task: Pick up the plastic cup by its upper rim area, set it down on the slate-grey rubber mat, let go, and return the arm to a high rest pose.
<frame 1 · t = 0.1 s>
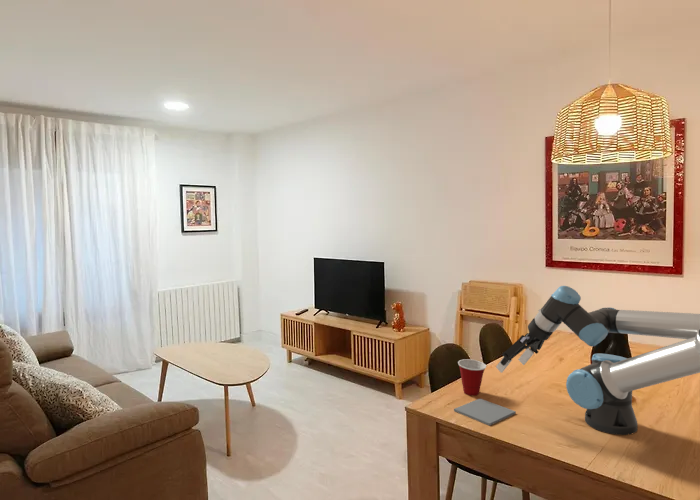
hand: (510, 365, 166), 15 cm above the table, tool tilted 35°, fingers open, 13 cm apart
plastic cup: (471, 393, 181), on the table
rest mat: (484, 412, 164), on the table
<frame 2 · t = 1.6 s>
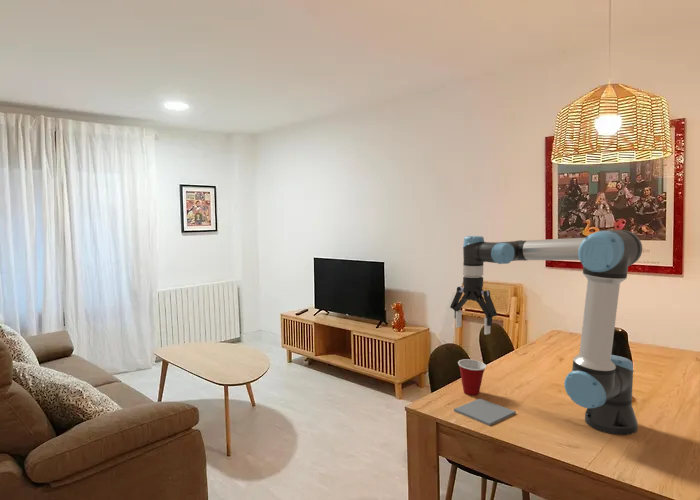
hand: (472, 330, 179), 25 cm above the table, tool pointing down, fingers open, 13 cm apart
nothing on the table moved.
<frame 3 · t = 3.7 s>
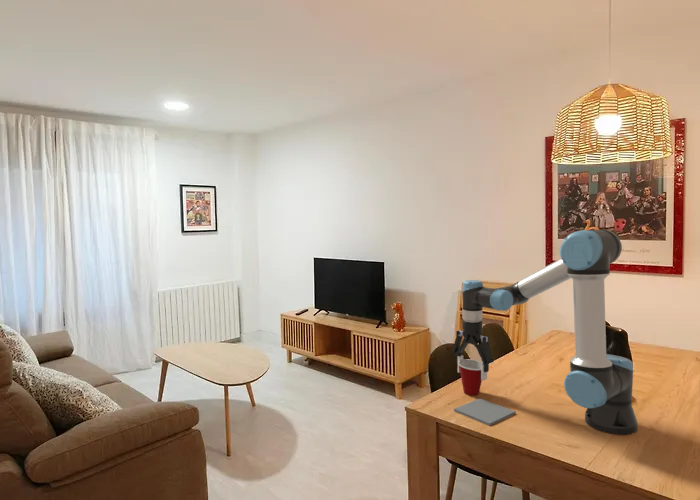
hand: (471, 375, 181), 7 cm above the table, tool pointing down, fingers closed on plastic cup, 11 cm apart
plastic cup: (471, 393, 181), on the table, touching gripper
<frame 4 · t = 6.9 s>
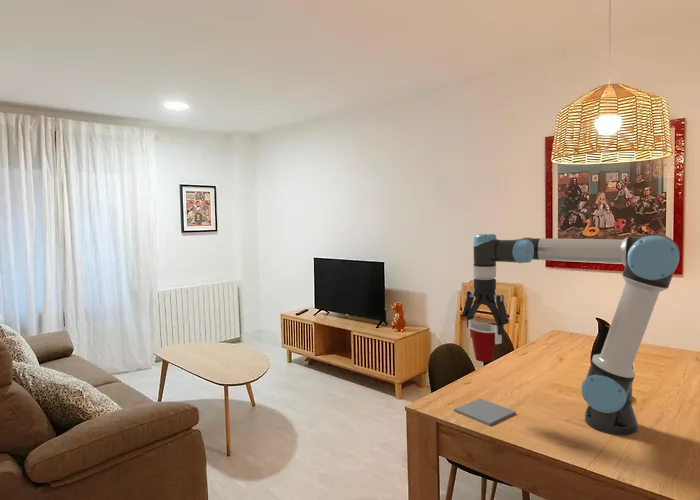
hand: (484, 340, 163), 26 cm above the table, tool pointing down, fingers closed on plastic cup, 11 cm apart
plastic cup: (484, 360, 163), point 19 cm above the table, touching gripper
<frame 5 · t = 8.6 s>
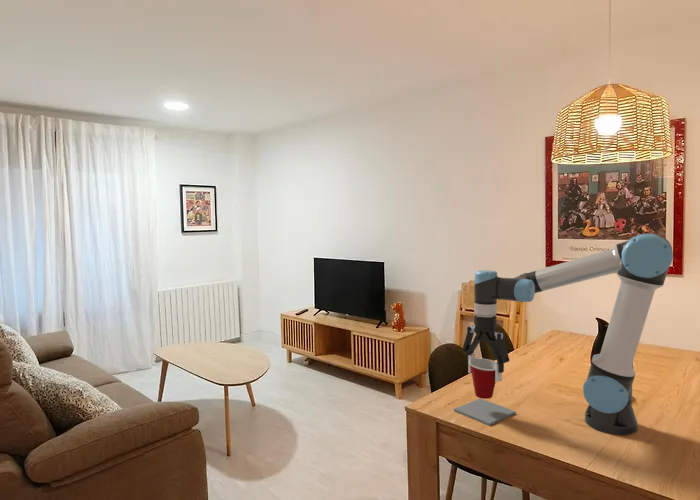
hand: (484, 376, 163), 13 cm above the table, tool pointing down, fingers closed on plastic cup, 11 cm apart
plastic cup: (484, 396, 163), point 6 cm above the table, touching gripper
when the fingers open (8 cm above the table, at t = 10.1 s): plastic cup stays where it is, resting on rest mat.
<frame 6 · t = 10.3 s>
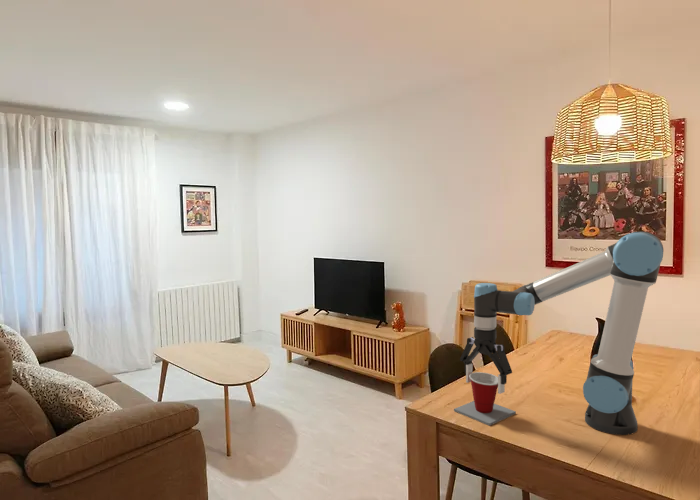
hand: (484, 387, 163), 9 cm above the table, tool pointing down, fingers open, 13 cm apart
plastic cup: (484, 410, 164), point 1 cm above the table, touching rest mat
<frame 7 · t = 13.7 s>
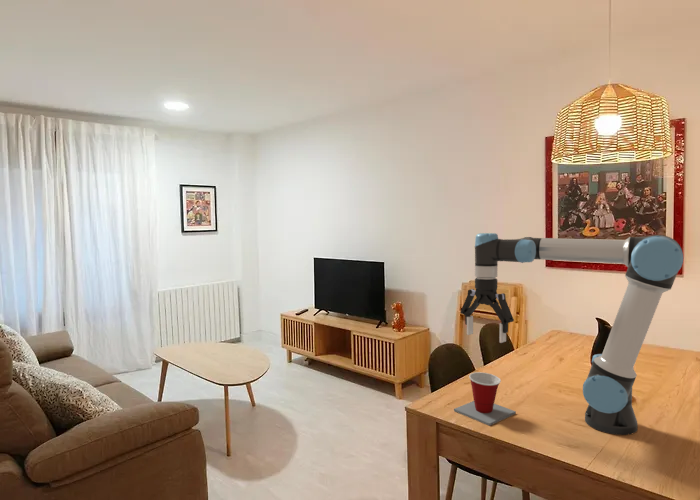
hand: (485, 338, 162), 27 cm above the table, tool pointing down, fingers open, 13 cm apart
nothing on the table moved.
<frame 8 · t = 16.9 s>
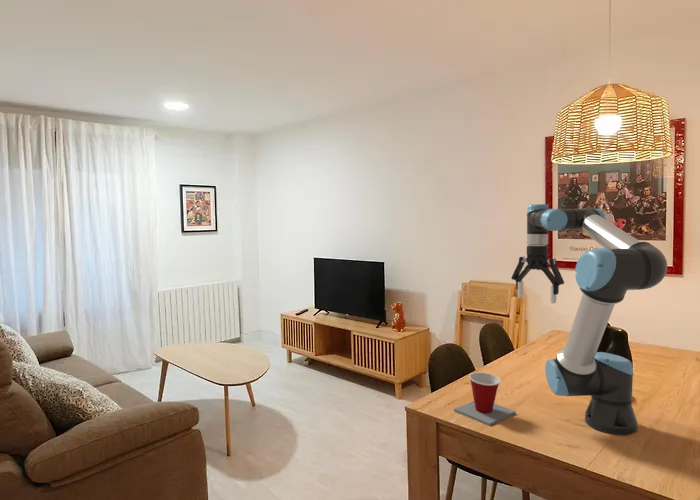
hand: (536, 300, 177), 37 cm above the table, tool pointing down, fingers open, 13 cm apart
nothing on the table moved.
at the end: plastic cup 0.0 cm from the rest mat (horizontally); plastic cup tilted 0°; the gripper is holding nothing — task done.
